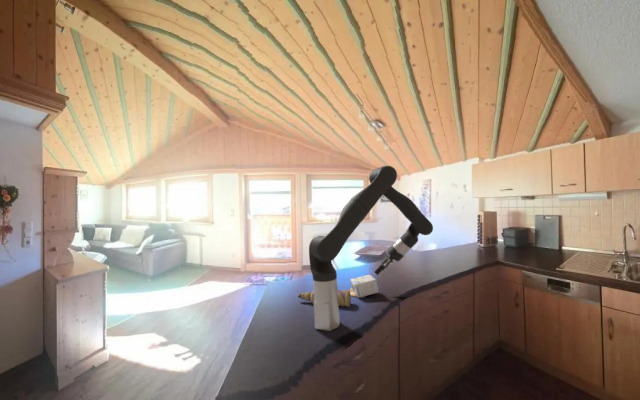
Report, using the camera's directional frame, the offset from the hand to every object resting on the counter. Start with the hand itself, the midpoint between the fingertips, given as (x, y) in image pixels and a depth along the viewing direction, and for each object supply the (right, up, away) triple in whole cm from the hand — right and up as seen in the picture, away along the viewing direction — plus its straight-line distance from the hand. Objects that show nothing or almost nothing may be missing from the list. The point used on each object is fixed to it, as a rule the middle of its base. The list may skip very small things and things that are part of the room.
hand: (376, 273), depth 121 cm
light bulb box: (-1, -4, -2) cm, 5 cm away
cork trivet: (-9, -10, +1) cm, 14 cm away
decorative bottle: (-26, -11, -10) cm, 30 cm away
